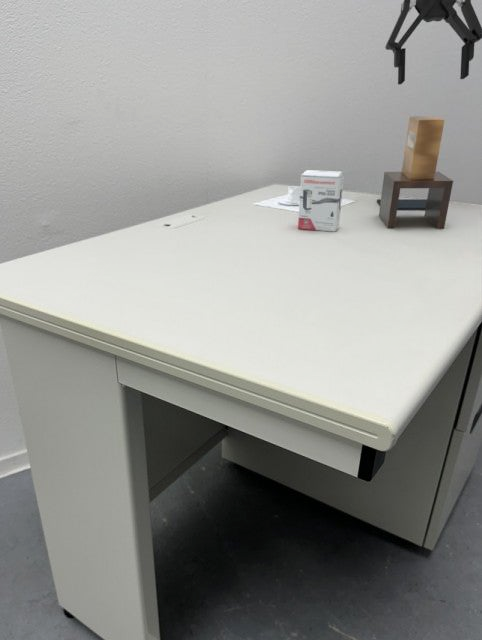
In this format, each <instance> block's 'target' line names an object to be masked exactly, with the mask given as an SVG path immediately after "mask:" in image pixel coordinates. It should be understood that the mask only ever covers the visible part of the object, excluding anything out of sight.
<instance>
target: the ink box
mask: <svg viewBox="0 0 482 640" xmlns="http://www.w3.org/2000/svg"><path fill="white" fill-rule="evenodd" d="M344 180H345V172H343V171H335V170H319V169H318V170H316V169H307V170H305V171H302V173H301V175H300V185H299V187H300V201H299V212H298V219H297V220H298V221H297V229H299V230H311V231H323V232H336V231H337V230H338V229H339V227H340V220H341V208H342V206H341V201H342V199H343V188H344Z"/></svg>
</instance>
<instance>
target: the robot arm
mask: <svg viewBox="0 0 482 640" xmlns="http://www.w3.org/2000/svg"><path fill="white" fill-rule="evenodd" d="M455 4H457V6H458V7H459V8H460V11H461V14H462V16H463V18H464V20H465V22H464V21H463V20H462V19H461V17H460V16H459V15H458V11H457V10H456V9H455V7H454V5H455ZM400 5H401V6H400V14H399V16H398V18H397V20H396V22H395V25H394V27H393V29H392V31H391V33H390V35H389V37H388V40H387V42H386V43H385V47H384V48H385V50H387V51H392V53H393V66H394V67H393V68H397V85H402V84H403V83H404V82H405V81H406V51H407V50H406V49H407V48H406V47H405V48H403V46H404V45H405V43H407V41H408V39H409V38H410V37H411V35H412V34H413V32H415V30H416V29H417V28H418V26H419V25H420V23H422V21H424V22H425V23H431V22H441V21H444V22H445V23H446V24H448V25H449V26H450V27H451V29H452V30H453V31H454V32H455V33H456V34H457V36H458V37H459V38H460V40H461V41H462V42H463V44H464V45H462V46H461V51H460V53H461V54H460V56H461V57H460V76H459V77H460V78H459V79H460V80H464V79H466V78H467V77H468V76H469V75H470V62H471V61H472V60H474V57H475V43H478V42H479V41H481V40H482V25H481V23H480V21H479V18H478V16H477V13H476V11H475V9H474V7H473V4H472V0H403V1H402V3H401V4H400ZM413 8H414V9H415V10H416V12H417V14H418V15H417V16H416V18H415V19H414V21H413V22H412V23H411V24H410V26H409V27H408V29H407V30H406V31H405V32H404V34H403V35H402V36H401V38H400V39H399V41H398V42H396V39H397V38H398V35H399V33H400V31H401V29H402V27H403V25H404V23H405V20H406V18H407V16H408V14H409V13H410V12H411V11H412V9H413ZM465 23H466V24H465Z"/></svg>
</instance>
